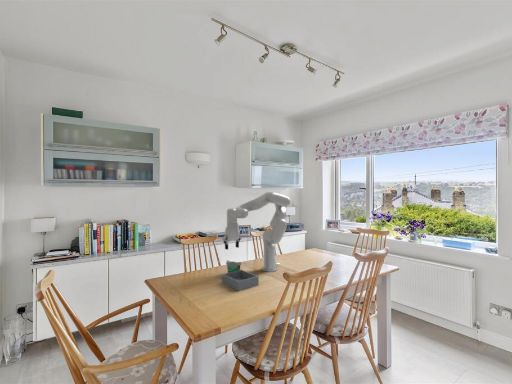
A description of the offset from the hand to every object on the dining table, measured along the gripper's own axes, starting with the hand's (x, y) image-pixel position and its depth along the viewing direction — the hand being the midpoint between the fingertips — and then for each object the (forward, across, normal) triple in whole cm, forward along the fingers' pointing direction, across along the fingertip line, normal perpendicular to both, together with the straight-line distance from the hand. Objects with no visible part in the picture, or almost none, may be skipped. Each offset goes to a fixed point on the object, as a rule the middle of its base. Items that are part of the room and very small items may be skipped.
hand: (232, 248), depth 203 cm
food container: (+20, 0, 0) cm, 20 cm away
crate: (+20, +7, +19) cm, 28 cm away
